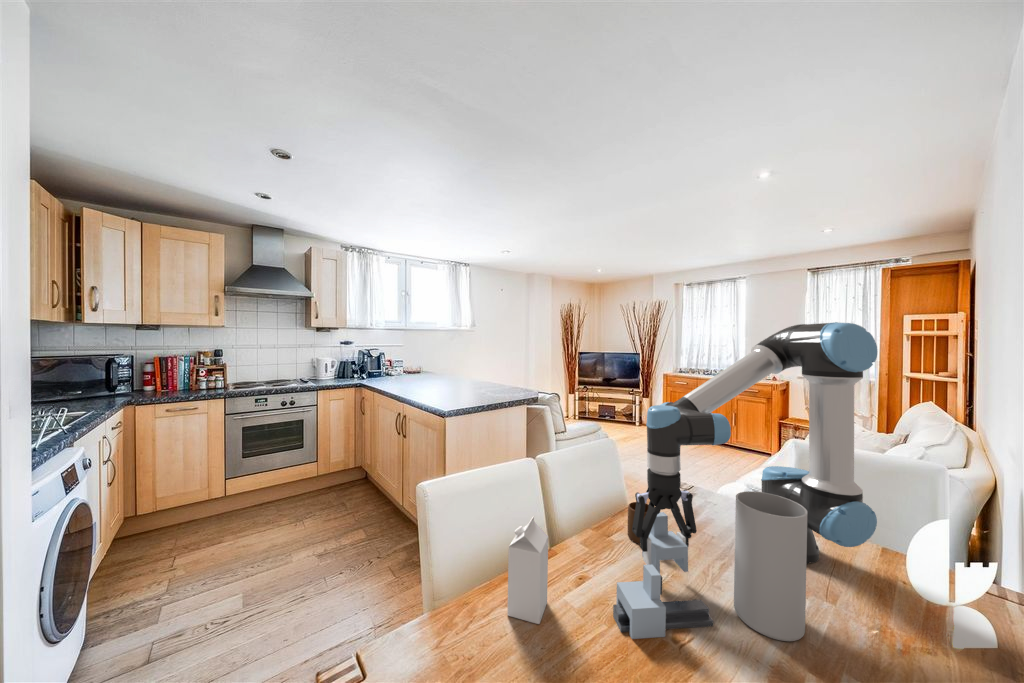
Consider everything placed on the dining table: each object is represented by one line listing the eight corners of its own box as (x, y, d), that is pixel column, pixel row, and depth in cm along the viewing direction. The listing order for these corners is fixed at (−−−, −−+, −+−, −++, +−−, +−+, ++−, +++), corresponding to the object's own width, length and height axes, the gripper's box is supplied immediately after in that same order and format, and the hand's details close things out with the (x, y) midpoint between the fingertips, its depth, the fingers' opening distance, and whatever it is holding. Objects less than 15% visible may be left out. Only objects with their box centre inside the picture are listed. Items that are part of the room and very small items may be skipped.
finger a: (648, 607, 81) (649, 558, 81) (667, 636, 73) (668, 582, 73) (616, 609, 81) (617, 559, 81) (631, 639, 73) (632, 583, 73)
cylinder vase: (811, 653, 70) (813, 523, 70) (734, 627, 76) (737, 507, 76) (798, 611, 81) (800, 499, 81) (732, 592, 87) (734, 487, 87)
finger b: (688, 571, 87) (687, 525, 86) (655, 574, 86) (655, 527, 86) (671, 553, 94) (670, 510, 94) (641, 555, 93) (640, 512, 93)
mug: (665, 554, 102) (666, 520, 102) (638, 554, 102) (639, 520, 102) (647, 531, 114) (648, 501, 114) (623, 531, 114) (624, 501, 114)
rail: (700, 611, 80) (701, 599, 80) (713, 626, 76) (713, 613, 76) (613, 616, 78) (613, 604, 78) (620, 632, 74) (621, 619, 74)
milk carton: (547, 602, 82) (548, 518, 82) (539, 625, 76) (540, 534, 76) (517, 594, 85) (518, 513, 85) (507, 616, 78) (508, 527, 78)
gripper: (694, 462, 94) (695, 550, 94) (616, 466, 92) (617, 556, 92) (713, 473, 87) (714, 568, 87) (629, 477, 85) (630, 575, 85)
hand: (664, 562), depth 90 cm, fingers closed on finger b, 8 cm apart
